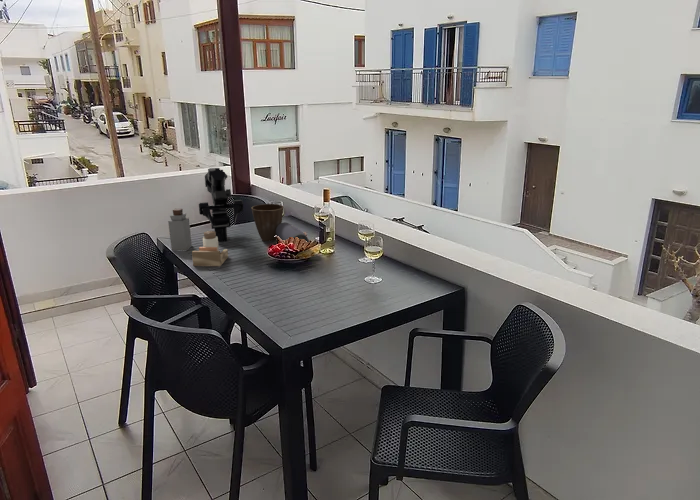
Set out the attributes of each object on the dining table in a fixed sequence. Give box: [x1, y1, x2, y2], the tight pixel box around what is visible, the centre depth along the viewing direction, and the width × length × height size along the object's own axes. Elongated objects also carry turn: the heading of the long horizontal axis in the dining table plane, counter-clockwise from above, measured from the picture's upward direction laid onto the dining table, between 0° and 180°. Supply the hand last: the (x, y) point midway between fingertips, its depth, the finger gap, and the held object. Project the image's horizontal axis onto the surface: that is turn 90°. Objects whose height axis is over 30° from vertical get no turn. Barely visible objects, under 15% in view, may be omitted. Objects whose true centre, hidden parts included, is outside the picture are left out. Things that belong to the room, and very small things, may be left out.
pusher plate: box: [198, 246, 218, 251], centre depth 192 cm, size 1×7×6 cm, turn 88°
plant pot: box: [251, 203, 284, 242], centre depth 223 cm, size 15×15×16 cm
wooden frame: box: [191, 248, 229, 267], centre depth 194 cm, size 12×11×6 cm
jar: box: [202, 230, 220, 251], centre depth 194 cm, size 6×6×12 cm
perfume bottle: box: [167, 208, 193, 251], centre depth 210 cm, size 7×7×18 cm
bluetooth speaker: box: [276, 221, 310, 243], centre depth 211 cm, size 23×9×10 cm, turn 25°
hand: (223, 223), depth 202 cm, fingers open, 9 cm apart
